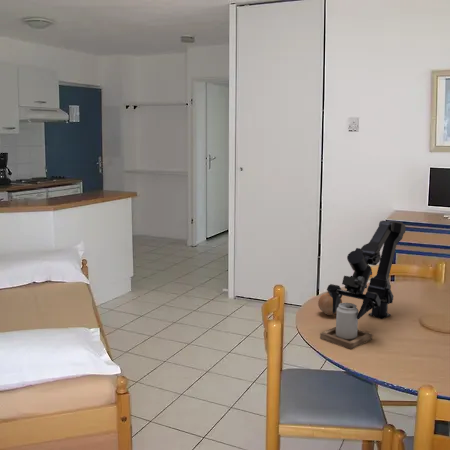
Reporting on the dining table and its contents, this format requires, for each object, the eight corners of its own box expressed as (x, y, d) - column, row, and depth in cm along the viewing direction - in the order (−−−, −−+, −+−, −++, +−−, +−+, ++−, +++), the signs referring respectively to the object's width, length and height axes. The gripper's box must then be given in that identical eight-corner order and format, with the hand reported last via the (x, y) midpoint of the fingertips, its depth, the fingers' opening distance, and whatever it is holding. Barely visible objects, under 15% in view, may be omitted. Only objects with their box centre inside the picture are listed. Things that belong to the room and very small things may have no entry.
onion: (346, 317, 215) (347, 293, 214) (325, 320, 212) (326, 295, 210) (333, 309, 224) (334, 286, 222) (313, 312, 221) (314, 288, 219)
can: (352, 343, 189) (353, 310, 186) (332, 338, 193) (333, 306, 191) (360, 335, 195) (361, 304, 192) (340, 331, 199) (341, 300, 197)
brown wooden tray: (341, 329, 203) (341, 324, 202) (372, 339, 193) (372, 334, 193) (320, 338, 194) (320, 333, 194) (350, 349, 185) (351, 343, 184)
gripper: (330, 262, 198) (314, 299, 191) (379, 271, 186) (364, 310, 180) (338, 278, 205) (324, 314, 199) (386, 287, 194) (372, 326, 188)
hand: (345, 315), depth 191 cm, fingers open, 9 cm apart
